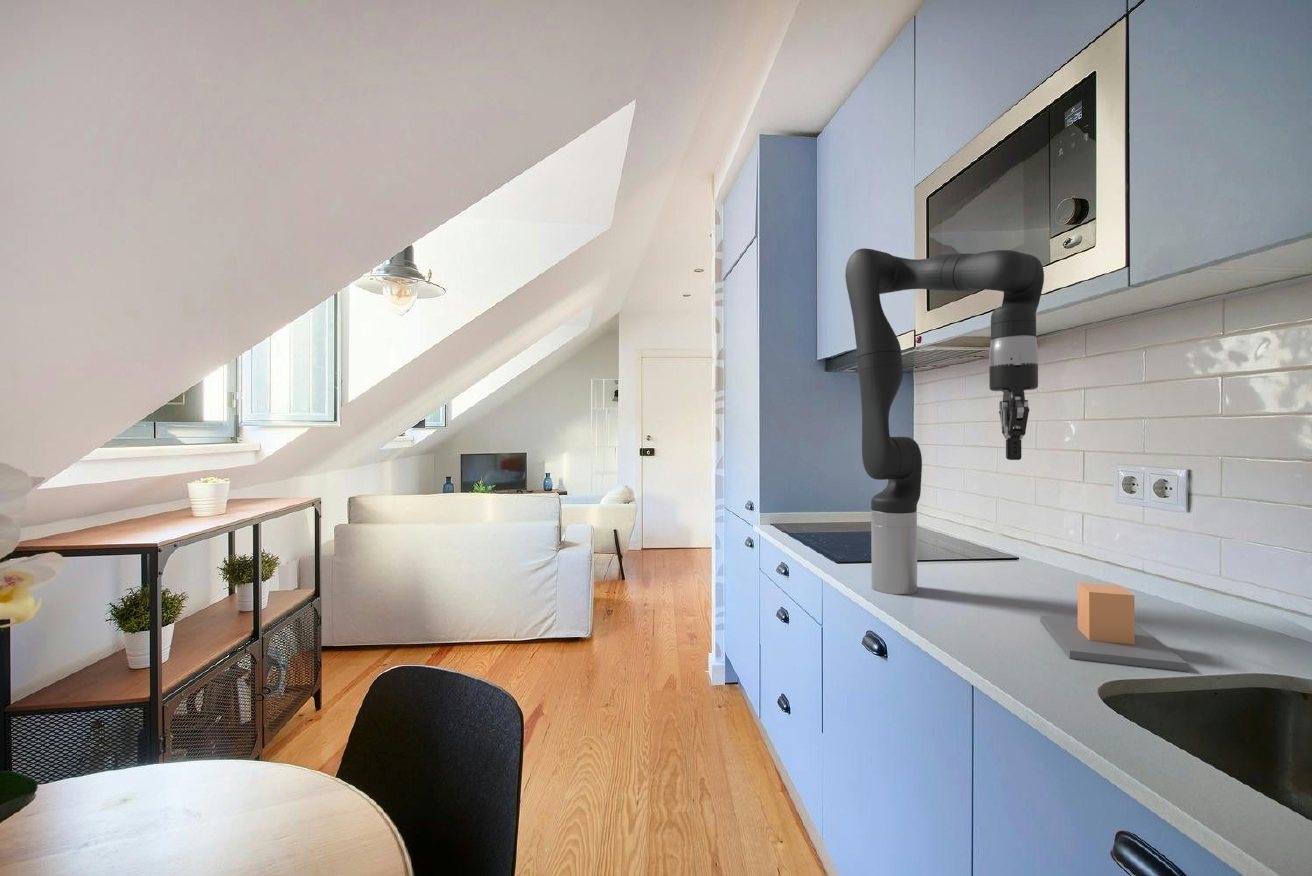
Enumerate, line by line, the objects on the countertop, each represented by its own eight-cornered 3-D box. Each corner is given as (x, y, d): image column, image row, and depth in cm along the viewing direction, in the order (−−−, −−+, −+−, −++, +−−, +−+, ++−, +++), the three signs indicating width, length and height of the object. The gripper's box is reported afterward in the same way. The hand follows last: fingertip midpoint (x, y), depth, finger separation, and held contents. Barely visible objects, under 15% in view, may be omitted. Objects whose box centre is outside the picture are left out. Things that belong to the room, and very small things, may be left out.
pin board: (1040, 621, 104) (1040, 581, 104) (1136, 630, 99) (1136, 588, 99) (1069, 658, 88) (1069, 610, 88) (1187, 671, 83) (1187, 620, 82)
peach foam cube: (1077, 628, 97) (1077, 582, 97) (1120, 632, 95) (1119, 585, 95) (1089, 640, 92) (1089, 591, 92) (1134, 644, 90) (1134, 595, 90)
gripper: (983, 368, 113) (984, 458, 113) (995, 360, 101) (996, 461, 101) (1029, 366, 110) (1029, 458, 110) (1047, 358, 98) (1047, 461, 98)
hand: (1013, 459), depth 106 cm, fingers closed
